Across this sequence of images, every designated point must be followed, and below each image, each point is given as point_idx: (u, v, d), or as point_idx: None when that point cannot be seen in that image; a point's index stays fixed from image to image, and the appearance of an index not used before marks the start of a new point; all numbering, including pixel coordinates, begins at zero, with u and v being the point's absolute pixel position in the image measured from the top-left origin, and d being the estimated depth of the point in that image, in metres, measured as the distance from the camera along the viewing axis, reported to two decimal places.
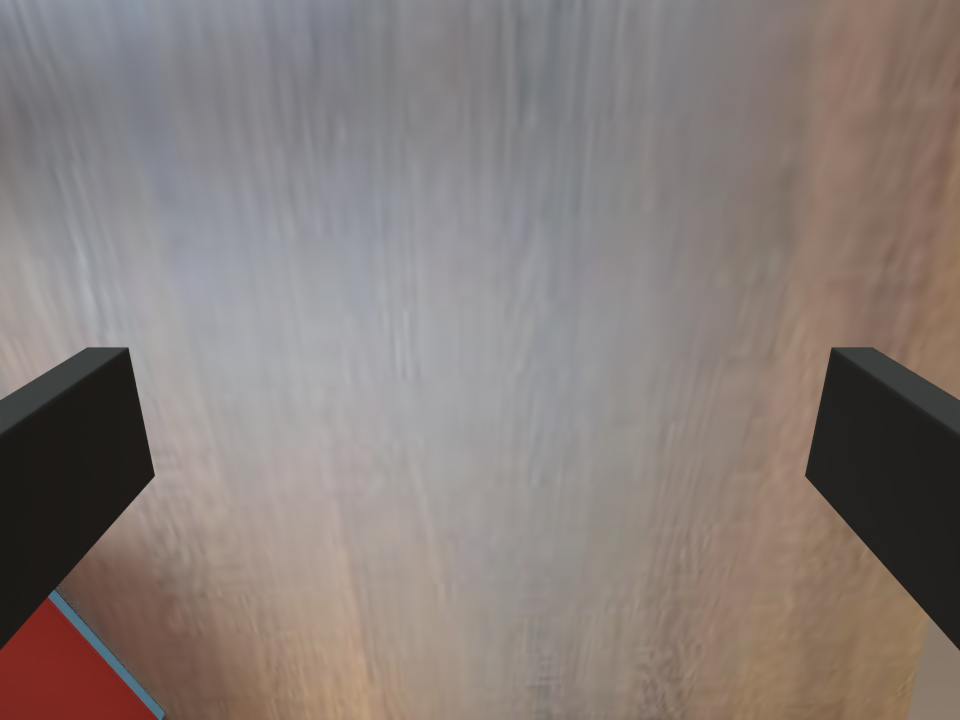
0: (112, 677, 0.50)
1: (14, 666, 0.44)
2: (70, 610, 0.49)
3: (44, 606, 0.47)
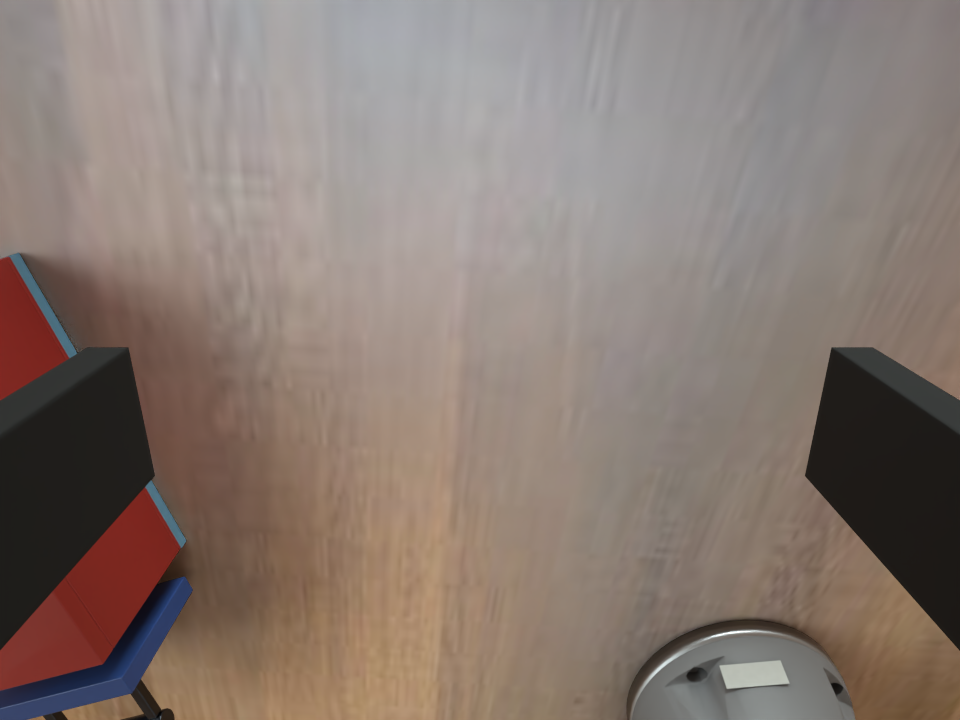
0: None
1: None
2: None
3: None
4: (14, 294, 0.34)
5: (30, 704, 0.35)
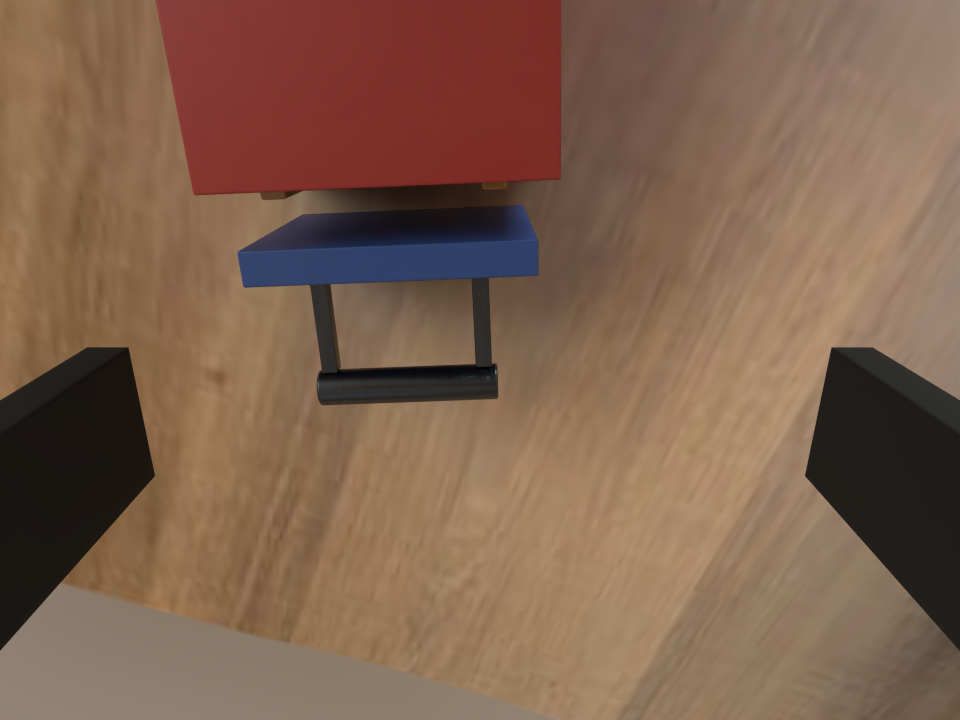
0: None
1: None
2: None
3: None
4: None
5: (359, 254, 0.21)
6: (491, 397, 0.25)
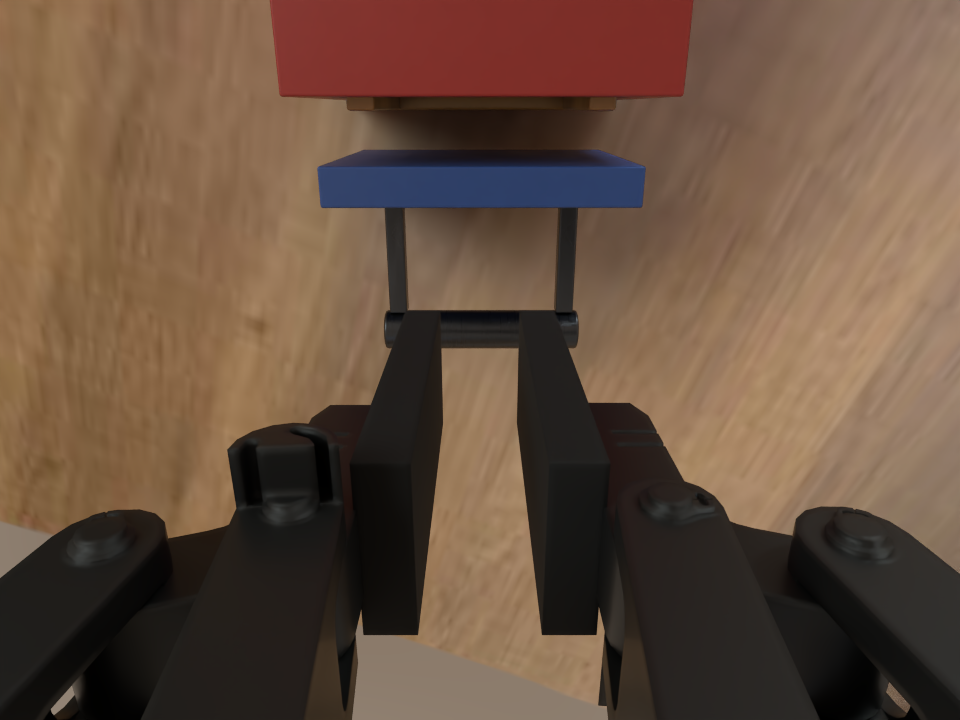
0: None
1: None
2: None
3: None
4: None
5: (451, 175, 0.19)
6: (570, 345, 0.23)
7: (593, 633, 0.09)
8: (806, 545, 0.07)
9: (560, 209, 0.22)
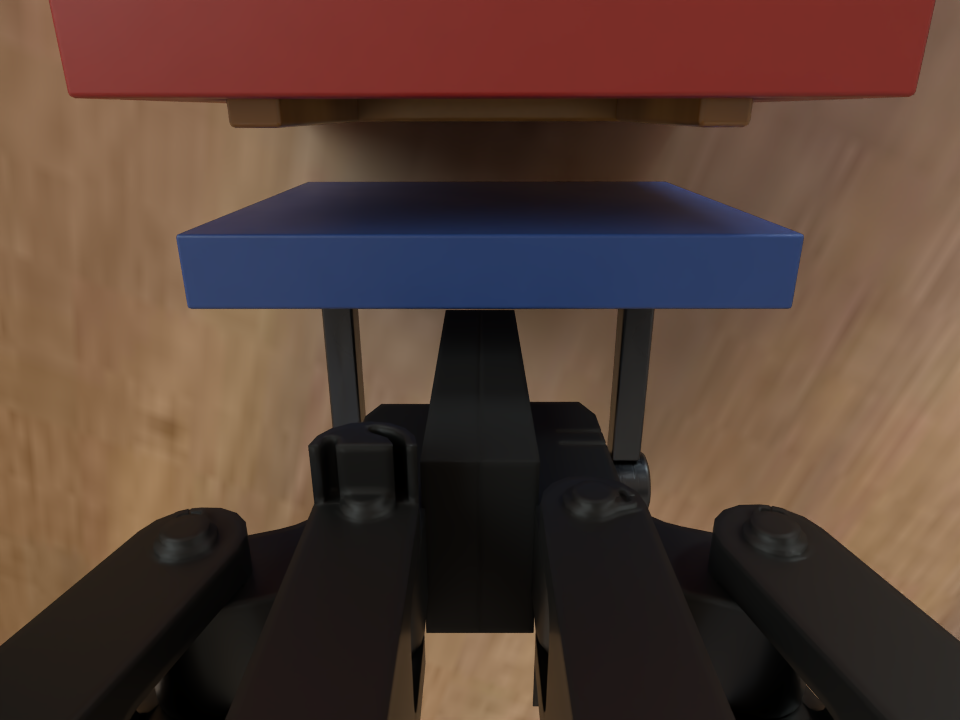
0: None
1: None
2: None
3: None
4: None
5: (431, 251, 0.10)
6: None
7: (531, 631, 0.09)
8: (724, 545, 0.07)
9: None
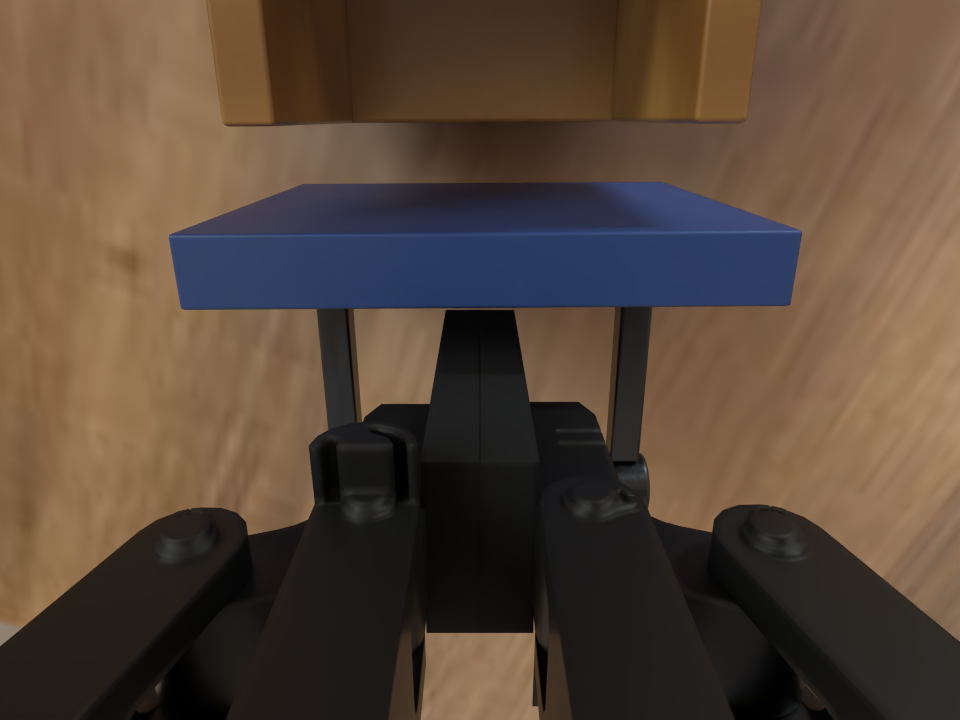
0: None
1: None
2: None
3: None
4: None
5: (426, 249, 0.10)
6: None
7: (530, 631, 0.09)
8: (723, 546, 0.07)
9: None
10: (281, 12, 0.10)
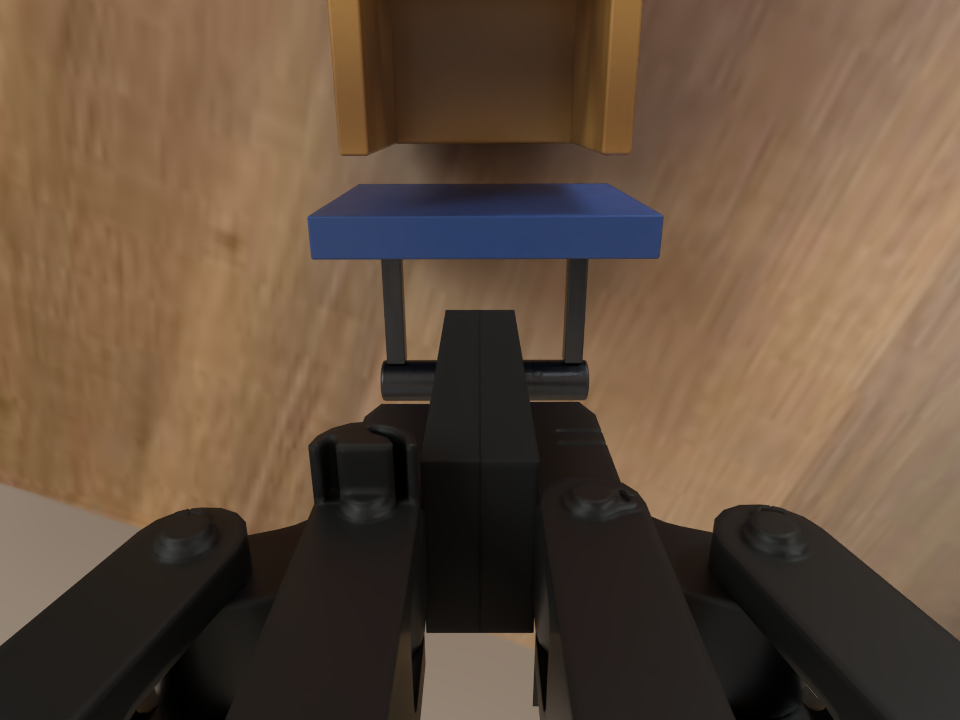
0: None
1: None
2: None
3: None
4: None
5: (452, 225, 0.18)
6: (579, 398, 0.22)
7: (530, 631, 0.09)
8: (724, 545, 0.07)
9: None
10: (370, 91, 0.18)
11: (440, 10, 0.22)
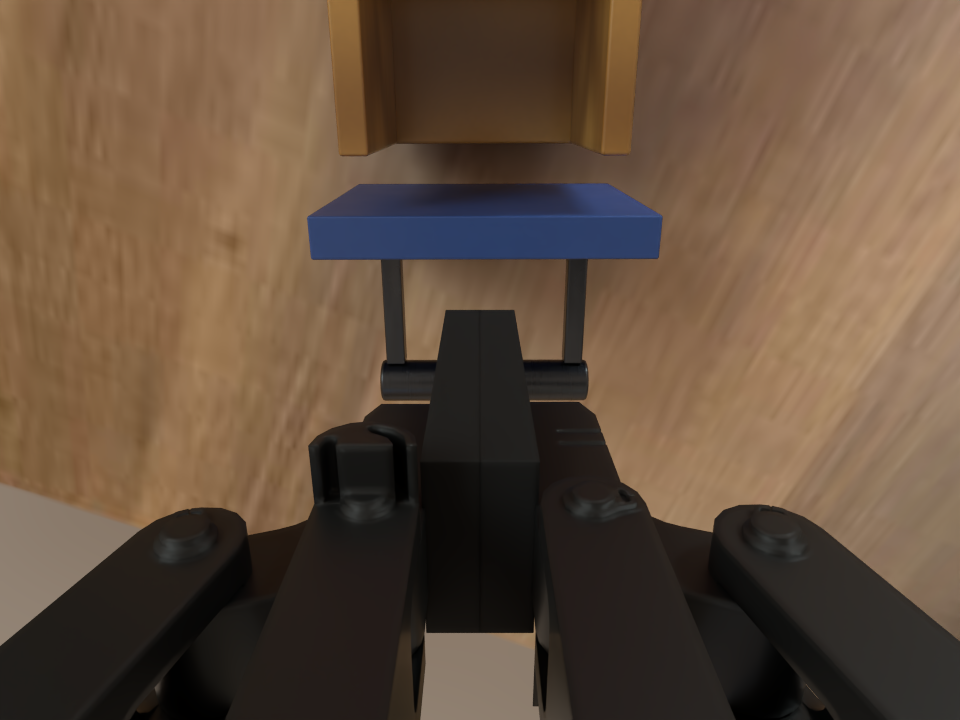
0: None
1: None
2: None
3: None
4: None
5: (452, 225, 0.18)
6: (579, 398, 0.22)
7: (530, 631, 0.09)
8: (724, 545, 0.07)
9: None
10: (370, 91, 0.18)
11: (440, 10, 0.22)
